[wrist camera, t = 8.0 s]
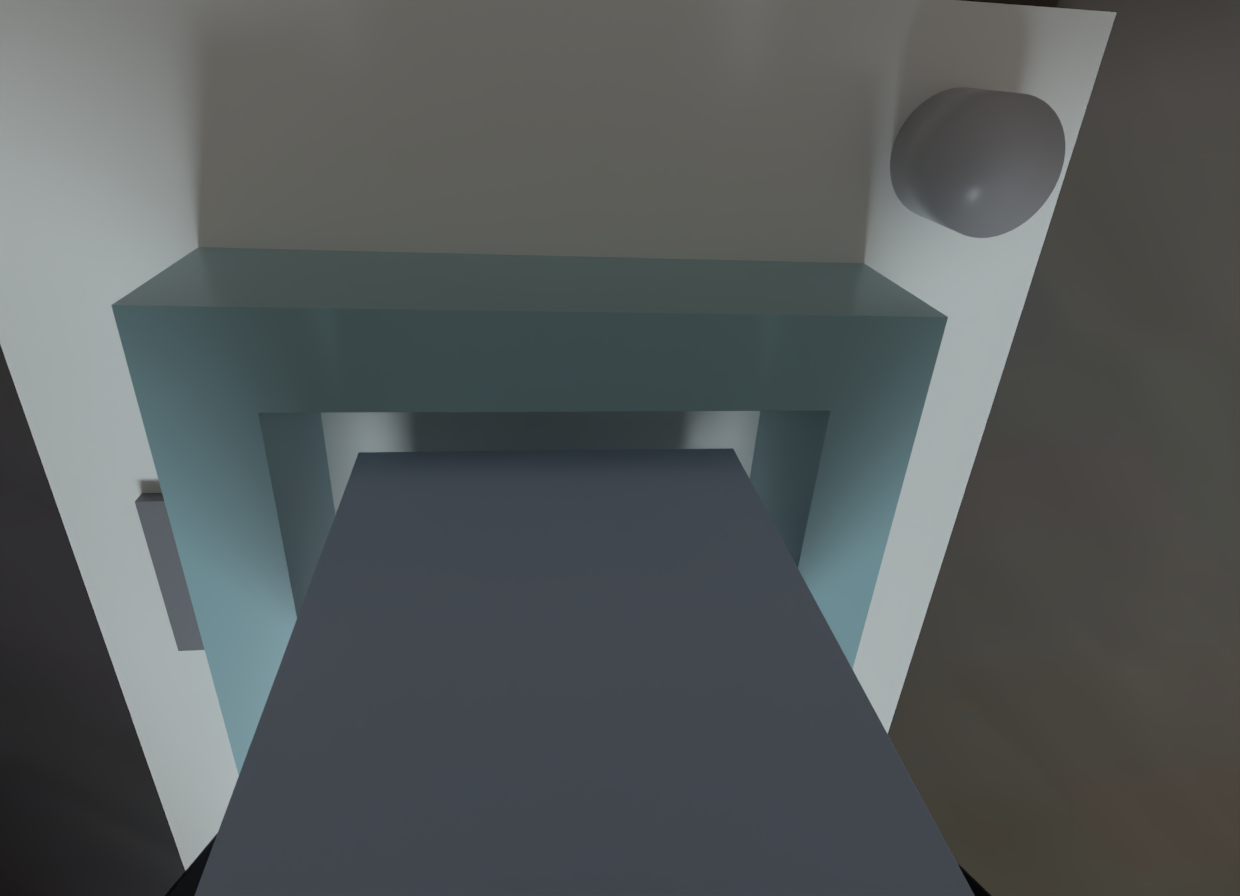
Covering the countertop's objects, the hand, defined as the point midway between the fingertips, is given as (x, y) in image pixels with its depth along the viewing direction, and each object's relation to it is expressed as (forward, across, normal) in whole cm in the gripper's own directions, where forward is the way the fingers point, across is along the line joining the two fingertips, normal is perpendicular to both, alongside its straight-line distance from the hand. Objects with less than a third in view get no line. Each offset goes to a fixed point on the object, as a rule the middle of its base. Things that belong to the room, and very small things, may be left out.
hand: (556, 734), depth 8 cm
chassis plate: (+4, 0, 0) cm, 4 cm away
